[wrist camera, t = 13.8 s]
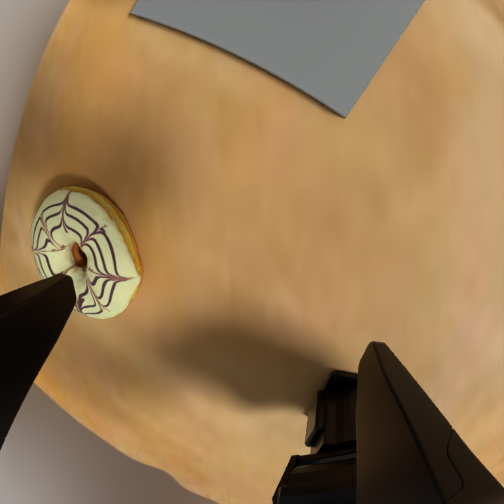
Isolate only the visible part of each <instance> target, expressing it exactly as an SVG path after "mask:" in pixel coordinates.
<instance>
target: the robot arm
mask: <svg viewBox="0 0 504 504" xmlns="http://www.w3.org/2000/svg"><path fill="white" fill-rule="evenodd" d="M76 301H77V296H76V291H75V287H74V282H73V279H72V277H71V276H69V275H66V274H63V273H59V274H56V275H54V276H51V277H48V278H46V279H43V280H40V281H37V282H35V283H32V284H29V285H27V286H24V287H22V288H19V289H16V290H14V291H11V292H9V293H6V294H3V295H1V296H0V450H1V448H2V445H3V443H4V441H5V438H6V436H7V434H8V431H9V429H10V427H11V425H12V423H13V421H14V419H15V417H16V414H17V413H18V411H19V409H20V407H21V405H22V403H23V401H24V399H25V397H26V395H27V393H28V391H29V390H30V387H31V386H32V384H33V382H34V380H35V378H36V377H37V375H38V373H39V371H40V370H41V368H42V366H43V364H44V363H45V361H46V359H47V357H48V356H49V354H50V352H51V351H52V349H53V347H54V346H55V344H56V342H57V340H58V338H59V336H60V334H61V332H62V330H63V328H64V326H65V324H66V322H67V320H68V318H69V316H70V314H71V312H72V310H73V308H74V306H75V304H76ZM334 377H338V378H334ZM305 445H306V446H307V447H311V453H310V454H308V455H301V456H300V455H293V456H291V458H290V460H289V463H288V465H287V467H286V469H285V472H284V474H283V476H282V478H281V480H280V482H279V484H278V486H277V488H276V491H275V493H274V495H273V498H272V502H273V504H504V487H503V486H502V485H501V484H500V483H499V482H498V481H497V480H496V478H495V477H494V476H493V475H492V474H491V473H490V472H489V471H488V470H487V468H486V467H485V466H484V465H483V464H482V463H481V462H480V461H479V459H478V458H477V457H476V456H475V455H474V454H473V453H472V451H471V450H470V449H469V448H468V446H467V445H466V444H465V443H464V441H463V440H462V439H461V438H460V436H459V435H458V434H457V432H456V431H455V430H454V429H452V426H451V425H450V423H449V422H448V421H447V419H446V418H445V417H444V416H443V414H442V413H441V412H440V410H439V409H438V408H437V407H436V405H435V404H434V403H433V402H432V400H431V399H430V398H429V396H428V395H427V394H426V393H425V391H424V390H423V389H422V388H421V386H420V385H419V384H418V383H417V381H416V380H415V379H414V378H413V377H412V375H411V374H410V373H409V372H408V370H407V369H406V368H405V367H404V365H403V364H402V363H401V362H400V361H399V359H398V358H397V357H396V356H395V355H394V353H393V352H392V351H391V350H390V349H389V347H388V346H387V345H386V344H385V343H383V342H376V341H372V342H370V343H369V345H368V346H367V348H366V350H365V352H364V354H363V356H362V358H361V360H360V363H359V367H358V375H353V374H348V373H343V372H338V371H334V372H332V373H331V374H330V375H329V377H328V379H327V381H326V383H325V385H324V387H323V389H322V390H320V391H318V392H317V394H316V396H315V398H314V400H313V402H312V404H311V406H310V408H309V412H308V421H307V429H306V437H305Z"/></svg>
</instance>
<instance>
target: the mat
mask: <svg viewBox="0 0 504 504" xmlns="http://www.w3.org/2000/svg"><path fill="white" fill-rule="evenodd" d="M424 1H425V0H138V1H137V3H136V5H135V6H134V8H133V9H132V11H131V13H132V14H134V15H136V16H138V17H141V18H144V19H147V20H150V21H153V22H156V23H159V24H162V25H164V26H167V27H170V28H172V29H175V30H178V31H180V32H183V33H185V34H188V35H190V36H193V37H195V38H198V39H200V40H202V41H205V42H207V43H209V44H212V45H214V46H216V47H218V48H221V49H223V50H225V51H227V52H229V53H231V54H233V55H236V56H238V57H240V58H242V59H244V60H246V61H248V62H250V63H252V64H254V65H256V66H257V67H259V68H261V69H263V70H265V71H267V72H269V73H271V74H272V75H274V76H276V77H278V78H280V79H282V80H283V81H285V82H287V83H289V84H290V85H292V86H294V87H295V88H297V89H299V90H300V91H302V92H304V93H305V94H307V95H309V96H310V97H312V98H314V99H315V100H317V101H318V102H320V103H322V104H323V105H325V106H326V107H328V108H329V109H331V110H332V111H334V112H335V113H337V114H338V115H340V116H341V117H343V118H344V119H345V118H346V117H347V115H348V114H349V112H350V111H351V109H352V108H353V106H354V105H355V103H356V102H357V100H358V99H359V97H360V96H361V95H362V93H363V92H364V90H365V89H366V87H367V86H368V84H369V83H370V81H371V80H372V78H373V77H374V75H375V74H376V72H377V71H378V69H379V68H380V66H381V65H382V63H383V62H384V61H385V59H386V58H387V56H388V55H389V53H390V52H391V50H392V49H393V47H394V46H395V44H396V43H397V41H398V40H399V38H400V37H401V35H402V34H403V32H404V31H405V29H406V28H407V26H408V25H409V23H410V22H411V21H412V19H413V18H414V16H415V15H416V13H417V12H418V10H419V9H420V7H421V6H422V4H423V3H424Z"/></svg>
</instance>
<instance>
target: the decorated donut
mask: <svg viewBox="0 0 504 504" xmlns="http://www.w3.org/2000/svg"><path fill="white" fill-rule="evenodd" d="M31 241H32V251H33V254H34V259H35V262H36V265H37V267H38V271H39V273H40V275H41V277H42V279H46V278H48V277H51V276H54V275H56V274H59V273H63V274H66V275H69V276H71V277H72V279H73V282H74V287H75V291H76V296H77V301H76V304H75V306H74V308H73V309H74V310H76V311H77V312H79V313H81V314H83V315H86V316H89V317H92V318H98V319H106V318H110V317H114V316H116V315H117V314H119V313H120V312H122V311H123V310H124V309H125V308H126V307H127V305H128V304H129V303H130V302H131V301H132V300H133V298H134V297H135V295H136V293H137V292H138V290H139V288H140V285H141V280H142V276H143V265H142V261H141V257H140V255H139V252H138V246H137V244H136V241H135V239H134V236H133V234H132V231H131V229H130V227H129V225H128V223H127V221H126V218H125V217H124V215H123V214H122V213H121V211H120V210H119V209H118V208H117V206H115V204H113V203H112V202H111V201H110V200H108V199H107V198H105V197H104V196H103V195H102V194H100V193H98V192H95V191H92V190H90V189H85V188H81V187H76V186H72V187H65V188H62V189H59V190H57V191H56V192H54V193H53V194H51V195H50V196H48V197H47V198H46V199H45V200H44V201H43V203H42V205H41V206H40V208H39V210H38V212H37V214H36V215H35V217H34V220H33V223H32V227H31ZM79 246H80V248H81V249H82V250H83V251H84V253H85V254H86V256H87V262H86V261H85V260H84V259H83V257H82V255H81V253H80V251H79Z"/></svg>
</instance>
